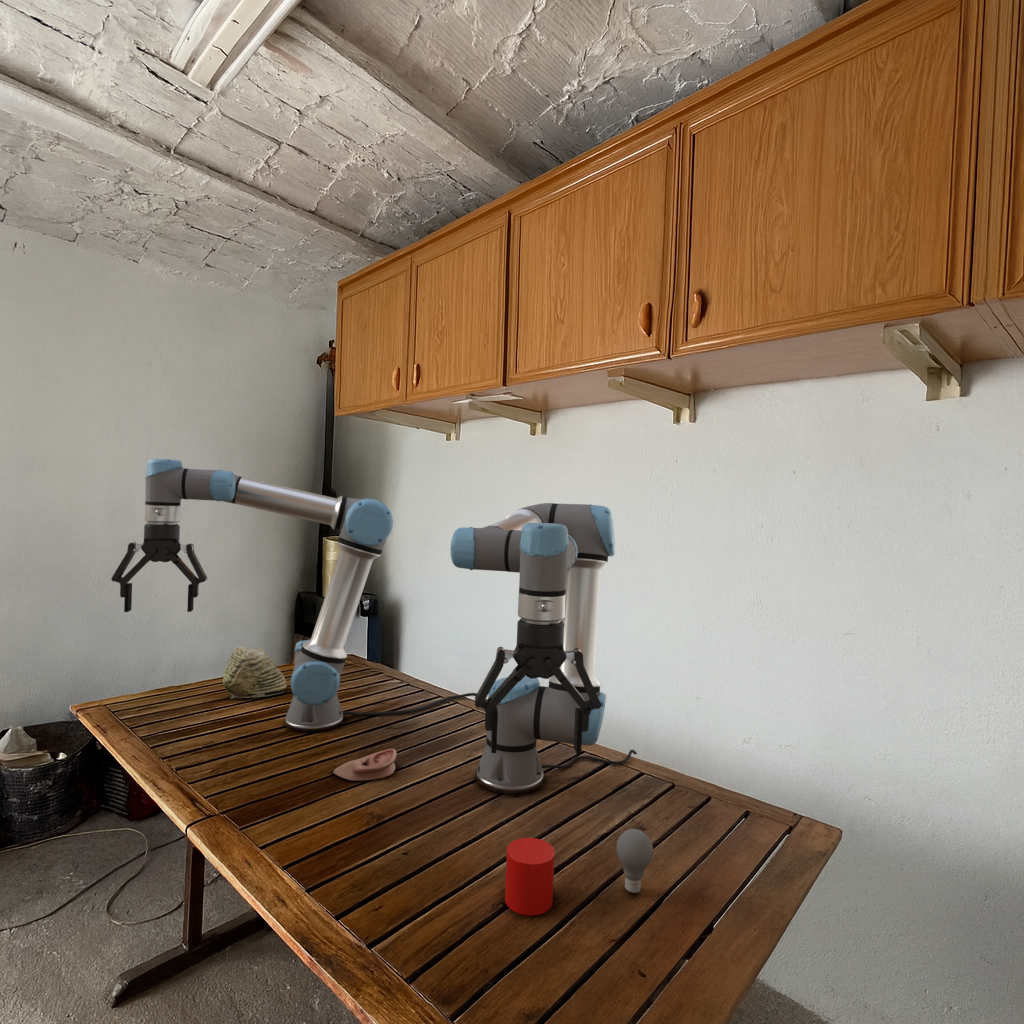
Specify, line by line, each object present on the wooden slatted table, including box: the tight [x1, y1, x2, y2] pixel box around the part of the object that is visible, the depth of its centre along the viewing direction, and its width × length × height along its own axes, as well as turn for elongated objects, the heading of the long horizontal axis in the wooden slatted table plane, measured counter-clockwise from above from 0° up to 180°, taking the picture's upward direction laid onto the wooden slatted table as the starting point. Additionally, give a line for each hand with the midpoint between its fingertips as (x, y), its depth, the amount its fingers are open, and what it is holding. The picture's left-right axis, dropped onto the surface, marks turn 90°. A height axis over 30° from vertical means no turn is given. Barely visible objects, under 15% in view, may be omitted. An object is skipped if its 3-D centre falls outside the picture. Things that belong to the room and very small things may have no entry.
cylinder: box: [504, 837, 556, 916], centre depth 102 cm, size 8×8×8 cm
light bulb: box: [615, 828, 654, 894], centre depth 106 cm, size 6×6×10 cm
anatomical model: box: [333, 748, 397, 782], centre depth 147 cm, size 13×4×12 cm
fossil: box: [222, 646, 288, 699], centre depth 198 cm, size 9×18×15 cm, turn 132°
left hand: (159, 611), depth 153 cm, fingers open, 13 cm apart
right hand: (535, 750), depth 102 cm, fingers open, 13 cm apart
